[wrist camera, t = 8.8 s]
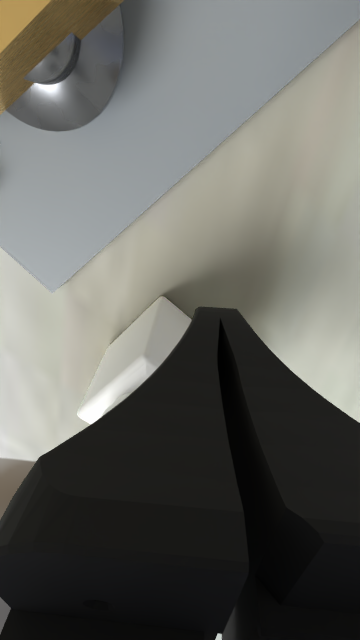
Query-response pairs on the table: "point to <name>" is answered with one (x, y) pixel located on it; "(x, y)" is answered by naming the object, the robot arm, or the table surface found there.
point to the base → (152, 120)
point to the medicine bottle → (133, 357)
